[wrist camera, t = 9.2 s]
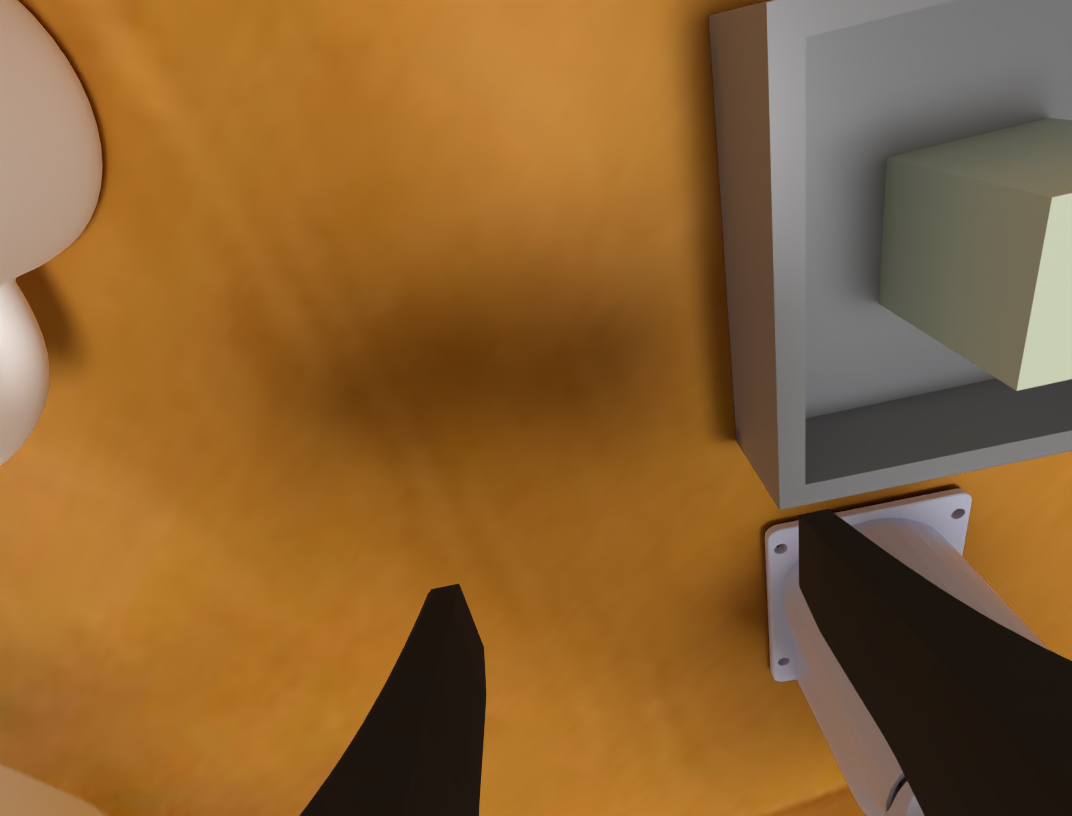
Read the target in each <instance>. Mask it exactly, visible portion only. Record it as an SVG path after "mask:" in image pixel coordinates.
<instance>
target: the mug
mask: <svg viewBox="0 0 1072 816" xmlns="http://www.w3.org/2000/svg"><path fill="white" fill-rule="evenodd" d="M102 168H103V164H102V150H101V143H100V138H99V133H98V128H97V124H96V121H95V118H94V114H93V111H92V108H91V105H90V103H89V100H88V98H87V96H86V93H85V91H84V89H83V87H82V84H81V82H80V80H79V79H78V77H77V75H76V73H75V72H74V70H73V68H72V66H71V65H70V63H69V61H68V59H67V58H66V57H65V55H64V54H63V52H62V51H61V50H60V48H59V47H58V45H57V44H56V42H55V41H54V40H53V38H52V37H51V36H50V35H49V33H48V32H47V31H46V30H45V29H44V27H43V26H42V25H41V24H40V23H39V22H38V20H37V19H36V18H35V17H34V16H33V15H32V14H31V13H30V12H29V11H28V10H27V9H26V8H25V7H24V6H23V5H22V4H21V3H20V2H19V1H18V0H0V465H2V464H3V463H4V462H6V461H7V460H8V459H9V458H10V457H11V456H12V455H13V454H14V453H15V452H16V451H17V450H18V449H19V448H20V447H21V446H22V445H23V444H24V443H25V441H26V440H27V438H28V437H29V435H30V434H31V433H32V431H33V430H34V428H35V426H36V425H37V423H38V421H39V418H40V416H41V414H42V412H43V410H44V408H45V404H46V400H47V396H48V392H49V380H50V368H49V359H48V353H47V349H46V345H45V341H44V337H43V335H42V332H41V329H40V327H39V324H38V322H37V320H36V318H35V315H34V313H33V311H32V309H31V307H30V305H29V303H28V302H27V300H26V298H25V296H24V294H23V293H22V291H21V290H20V288H19V286H18V285H17V283H16V278H17V277H19V276H21V275H23V274H25V273H27V272H29V271H32V270H34V269H36V268H38V267H40V266H41V265H43V264H45V263H46V262H48V261H50V260H51V259H52V258H54V257H55V256H57V255H58V254H60V253H61V252H62V251H64V250H65V249H66V248H68V247H69V246H70V245H71V244H72V243H73V242H74V241H75V240H76V239H77V238H78V237H79V236H80V235H81V234H82V232H83V231H84V229H85V228H86V226H87V225H88V223H89V221H90V220H91V217H92V215H93V213H94V210H95V208H96V205H97V202H98V197H99V193H100V189H101V181H102Z"/></svg>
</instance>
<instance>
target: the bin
mask: <svg viewBox="0 0 1072 816" xmlns="http://www.w3.org/2000/svg"><path fill="white" fill-rule="evenodd" d="M708 17H709V32H710V47H711V62H712V78H713V93H714V108H715V123H716V138H717V153H718V168H719V183H720V199H721V214H722V229H723V244H724V259H725V274H726V289H727V304H728V320H729V335H730V350H731V365H732V380H733V395H734V410H735V425H736V441H737V443H738V445H739V446H740V448H741V449H742V451H743V453H744V454H745V456H746V457H747V459H748V461H749V462H750V464H751V465H752V467H753V468H754V470H755V472H756V473H757V475H758V476H759V478H760V480H761V481H762V483H763V484H764V486H765V488H766V489H767V491H768V492H769V494H770V495H771V497H772V499H773V500H774V502H775V503H776V505H777V507H778V508H779V510H783V509H788V508H793V507H798V506H803V505H808V504H813V503H818V502H823V501H827V500H832V499H837V498H842V497H847V496H852V495H857V494H862V493H867V492H872V491H877V490H882V489H887V488H892V487H897V486H901V485H906V484H911V483H916V482H921V481H926V480H931V479H936V478H941V477H946V476H951V475H956V474H961V473H966V472H971V471H975V470H980V469H985V468H990V467H995V466H1000V465H1005V464H1010V463H1015V462H1020V461H1025V460H1030V459H1035V458H1040V457H1045V456H1049V455H1054V454H1059V453H1064V452H1069V451H1072V379H1069V380H1065V381H1060V382H1055V383H1051V384H1046V385H1042V386H1037V387H1032V388H1028V389H1023V390H1019V391H1016V390H1014V389H1013V388H1011V387H1009V386H1008V385H1006V384H1005V383H1003V382H1002V381H1000V380H998V379H997V378H995V377H994V376H992V375H990V374H989V373H987V372H986V371H984V370H983V369H981V368H979V367H978V366H976V365H975V364H973V363H972V362H970V361H968V360H967V359H965V358H964V357H962V356H960V355H959V354H957V353H956V352H954V351H953V350H951V349H949V348H948V347H946V346H945V345H943V344H942V343H940V342H938V341H937V340H935V339H934V338H932V337H930V336H929V335H927V334H926V333H924V332H923V331H921V330H919V329H918V328H916V327H915V326H913V325H912V324H910V323H908V322H907V321H905V320H904V319H902V318H900V317H899V316H897V315H896V314H894V313H893V312H891V311H889V310H888V309H886V308H885V307H883V306H881V305H880V304H879V294H880V275H881V256H882V237H883V218H884V199H885V180H886V161H887V157H890V156H894V155H898V154H902V153H907V152H911V151H915V150H919V149H923V148H927V147H931V146H935V145H939V144H943V143H948V142H952V141H956V140H960V139H964V138H968V137H972V136H976V135H980V134H984V133H989V132H993V131H997V130H1001V129H1005V128H1009V127H1013V126H1017V125H1021V124H1025V123H1030V122H1034V121H1038V120H1042V119H1046V118H1056V119H1066V120H1072V0H768V1H764V2H760V3H756V4H752V5H748V6H744V7H740V8H736V9H732V10H728V11H724V12H720V13H716V14H713V15H709V16H708Z"/></svg>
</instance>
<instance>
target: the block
mask: <svg viewBox="0 0 1072 816" xmlns="http://www.w3.org/2000/svg"><path fill="white" fill-rule="evenodd" d="M879 304H880V305H881V306H883V307H885V308H886V309H888V310H889V311H891V312H893V313H894V314H896V315H897V316H899V317H900V318H902V319H904V320H905V321H907V322H908V323H910V324H912V325H913V326H915V327H916V328H918V329H919V330H921V331H923V332H924V333H926V334H927V335H929V336H930V337H932V338H934V339H935V340H937V341H938V342H940V343H942V344H943V345H945V346H946V347H948V348H949V349H951V350H953V351H954V352H956V353H957V354H959V355H960V356H962V357H964V358H965V359H967V360H968V361H970V362H972V363H973V364H975V365H976V366H978V367H979V368H981V369H983V370H984V371H986V372H987V373H989V374H990V375H992V376H994V377H995V378H997V379H998V380H1000V381H1002V382H1003V383H1005V384H1006V385H1008V386H1009V387H1011V388H1013V389H1014V390H1016V391H1019V390H1023V389H1028V388H1032V387H1037V386H1042V385H1046V384H1051V383H1055V382H1060V381H1065V380H1069V379H1072V120H1066V119H1056V118H1046V119H1042V120H1038V121H1034V122H1030V123H1025V124H1021V125H1017V126H1013V127H1009V128H1005V129H1001V130H997V131H993V132H989V133H984V134H980V135H976V136H972V137H968V138H964V139H960V140H956V141H952V142H948V143H943V144H939V145H935V146H931V147H927V148H923V149H919V150H915V151H911V152H907V153H902V154H898V155H894V156H890V157H887V161H886V180H885V199H884V218H883V237H882V256H881V275H880V294H879Z"/></svg>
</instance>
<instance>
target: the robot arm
mask: <svg viewBox="0 0 1072 816" xmlns="http://www.w3.org/2000/svg"><path fill="white" fill-rule="evenodd" d="M971 503H972V497H971V496H970V495H969V494H968V493H967V492H966V491H965V490H963V489H960V488H959V489H951V490H946V491H941V492H936V493H931V494H926V495H922V496H917V497H912V498H907V499H902V500H897V501H892V502H887V503H882V504H877V505H872V506H867V507H862V508H857V509H852V510H847V511H842V512H837V513H833V512H832V511H830V510H829V509H827V510H822V511H817V512H812V513H807V514H802V515H798V520H797V521H792V522H787V523H782V524H777V525H774V526H772V527H770V528H769V529H768V530H767V531H766V533H765V554H766V577H767V601H768V624H769V647H770V671H771V674H772V676H773V678H774V680H776V681H779V682H785V681H791V680H796V679H797V681H798V683H799V685H800V687H801V689H802V691H803V694H804V696H805V698H806V700H807V702H808V704H809V706H810V708H811V710H812V712H813V714H814V716H815V718H816V720H817V722H818V724H819V727H820V729H821V731H822V733H823V735H824V737H825V739H826V741H827V743H828V745H829V747H830V749H831V751H832V753H833V755H834V758H835V760H836V762H837V764H838V766H839V768H840V770H841V772H842V774H843V776H844V778H845V780H846V782H847V784H848V786H849V788H850V791H851V793H852V795H853V796H854V798H855V800H856V802H857V803H858V805H859V806H860V808H861V810H862V811H863V812H864V814H865V815H866V816H1072V661H1070V660H1068V659H1066V658H1064V657H1062V656H1060V655H1058V654H1056V653H1054V652H1052V651H1051V650H1050V649H1049V648H1048V647H1047V646H1046V645H1045V644H1044V643H1043V642H1042V641H1041V640H1040V639H1039V638H1038V636H1037V635H1036V634H1035V633H1034V632H1033V631H1032V630H1031V629H1030V628H1029V627H1028V626H1027V625H1026V624H1025V623H1024V622H1023V621H1022V619H1021V618H1020V617H1019V616H1018V615H1017V614H1016V613H1015V612H1014V611H1013V610H1012V609H1011V608H1010V607H1009V606H1008V605H1007V604H1006V602H1005V601H1004V600H1003V599H1002V598H1001V597H1000V596H999V595H998V594H997V593H996V592H995V591H994V590H993V589H992V588H991V587H990V585H989V584H988V583H987V582H986V581H985V580H984V579H983V578H982V577H981V576H980V575H979V574H978V573H977V572H976V571H975V569H974V568H973V567H972V566H971V565H970V564H969V563H968V562H967V561H966V560H965V559H964V558H963V557H962V555H963V550H964V544H965V538H966V532H967V526H968V520H969V515H970V509H971ZM780 544H782V545H781V546H779V547H776V546H777V545H780ZM485 708H486V679H485V659H484V647H483V644H482V641H481V639H480V636H479V634H478V631H477V629H476V626H475V623H474V621H473V618H472V616H471V613H470V610H469V608H468V605H467V603H466V600H465V598H464V595H463V592H462V590H461V587H460V585H459V584H455V585H450V586H445V587H440V588H436V589H431V591H430V592H429V593H428V595H427V598H426V600H425V602H424V605H423V607H422V609H421V611H420V614H419V616H418V618H417V620H416V622H415V625H414V627H413V629H412V631H411V633H410V635H409V638H408V640H407V642H406V644H405V646H404V648H403V650H402V652H401V654H400V656H399V658H398V660H397V662H396V664H395V666H394V668H393V670H392V672H391V674H390V676H389V678H388V680H387V681H386V683H385V685H384V687H383V689H382V691H381V692H380V694H379V696H378V698H377V699H376V701H375V703H374V705H373V706H372V708H371V710H370V712H369V713H368V715H367V717H366V719H365V721H364V722H363V724H362V726H361V727H360V729H359V730H358V732H357V734H356V735H355V737H354V739H353V740H352V742H351V743H350V745H349V746H348V748H347V750H346V751H345V753H344V754H343V756H342V757H341V759H340V760H339V762H338V763H337V765H336V766H335V768H334V769H333V770H332V772H331V773H330V775H329V776H328V778H327V779H326V780H325V782H324V783H323V784H322V786H321V787H320V789H319V790H318V791H317V793H316V794H315V796H314V797H313V798H312V800H311V801H310V802H309V804H308V805H307V807H306V808H305V809H304V810H303V812H302V813H301V814H300V816H479V800H480V785H481V770H482V755H483V740H484V724H485Z"/></svg>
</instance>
